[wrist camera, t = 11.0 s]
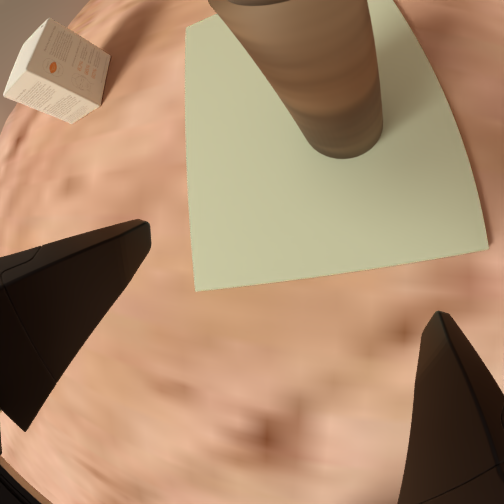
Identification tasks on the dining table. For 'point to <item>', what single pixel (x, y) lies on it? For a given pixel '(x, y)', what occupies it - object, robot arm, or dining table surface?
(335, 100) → the pepper mill
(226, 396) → the dining table surface
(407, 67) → the placemat
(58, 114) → the small box
